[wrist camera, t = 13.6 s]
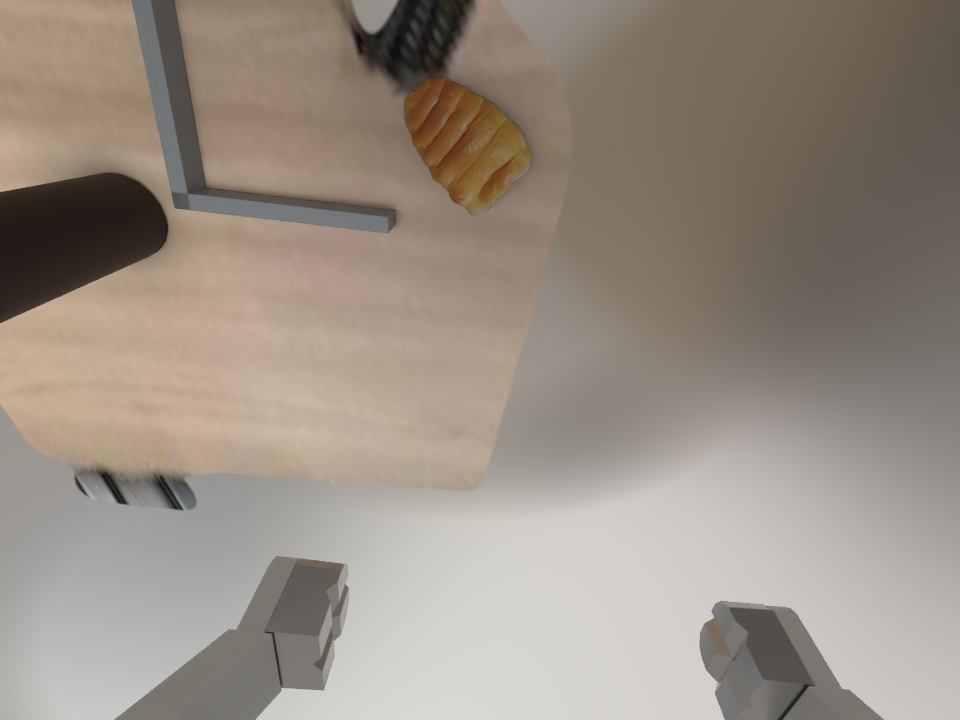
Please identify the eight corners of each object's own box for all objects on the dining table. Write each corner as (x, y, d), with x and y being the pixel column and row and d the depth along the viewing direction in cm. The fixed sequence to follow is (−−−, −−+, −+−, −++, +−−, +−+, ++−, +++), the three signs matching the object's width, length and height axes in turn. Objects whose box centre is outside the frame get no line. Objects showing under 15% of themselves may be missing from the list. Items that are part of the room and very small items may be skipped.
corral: (135, -109, 29) (105, -126, 26) (399, -74, 29) (391, -88, 27) (193, 201, 38) (174, 208, 35) (394, 225, 38) (388, 233, 36)
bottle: (73, 224, 39) (-274, 325, 21) (95, 152, 36) (-284, 203, 19) (154, 272, 41) (-106, 401, 23) (180, 208, 38) (-92, 300, 20)
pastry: (387, 128, 34) (373, 131, 31) (448, 48, 32) (439, 42, 28) (480, 219, 37) (476, 231, 34) (542, 152, 34) (545, 158, 31)
